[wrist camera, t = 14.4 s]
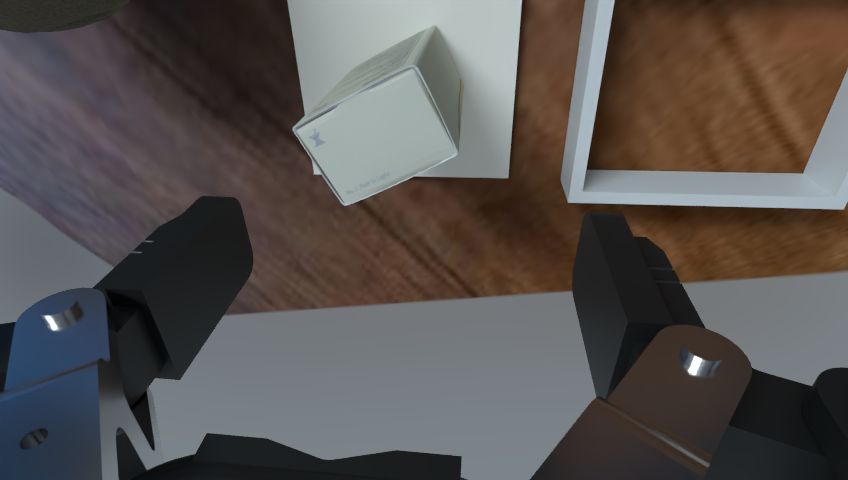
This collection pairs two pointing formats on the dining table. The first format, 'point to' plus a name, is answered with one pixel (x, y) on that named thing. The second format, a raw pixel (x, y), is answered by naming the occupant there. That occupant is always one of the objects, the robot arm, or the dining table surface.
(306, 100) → the cream tile
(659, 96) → the dining table surface
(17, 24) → the cantaloupe
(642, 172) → the white square frame
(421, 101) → the skincare box
